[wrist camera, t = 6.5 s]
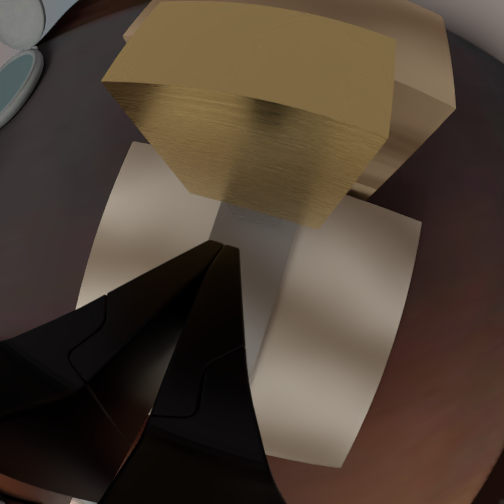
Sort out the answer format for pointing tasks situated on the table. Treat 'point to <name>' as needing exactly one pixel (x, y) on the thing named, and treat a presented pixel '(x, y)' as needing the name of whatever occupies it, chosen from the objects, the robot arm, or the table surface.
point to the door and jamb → (300, 251)
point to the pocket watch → (20, 53)
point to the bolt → (258, 104)
